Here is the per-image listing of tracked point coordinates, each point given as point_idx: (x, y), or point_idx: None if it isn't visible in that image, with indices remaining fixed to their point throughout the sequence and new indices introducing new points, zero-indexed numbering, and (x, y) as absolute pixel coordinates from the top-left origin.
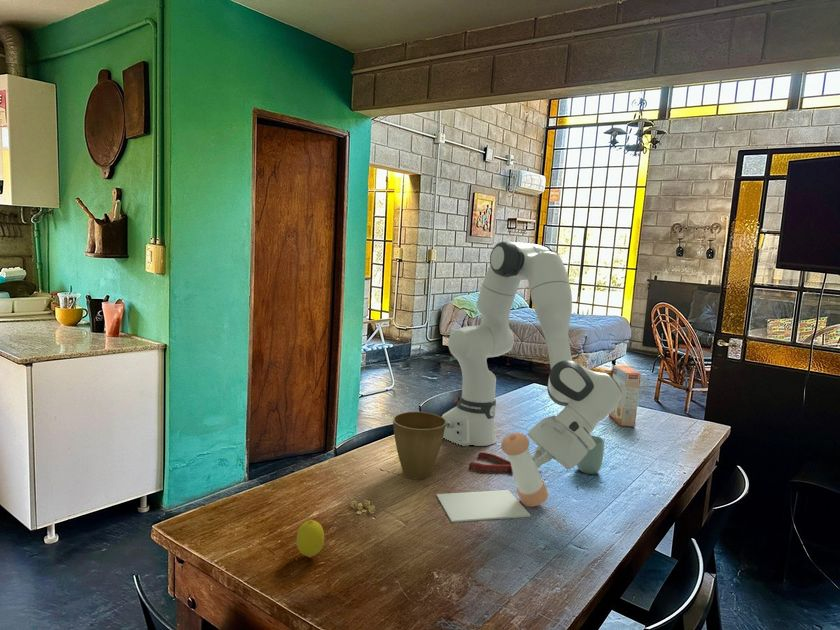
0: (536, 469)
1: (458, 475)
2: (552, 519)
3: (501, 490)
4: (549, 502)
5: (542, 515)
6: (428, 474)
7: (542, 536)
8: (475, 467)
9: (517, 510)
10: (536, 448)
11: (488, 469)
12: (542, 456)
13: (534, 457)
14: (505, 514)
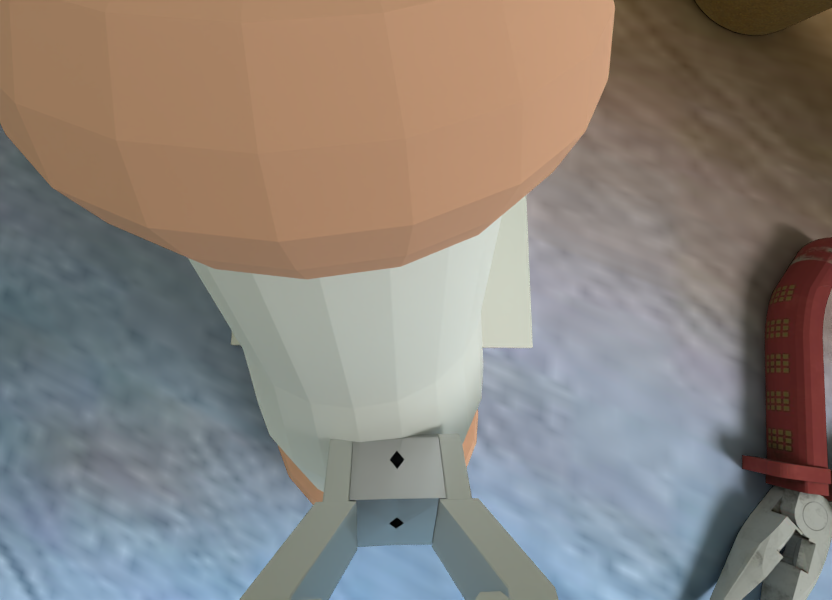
0: (284, 434)
1: (727, 162)
2: (178, 456)
3: (529, 306)
4: None
5: (233, 419)
6: (713, 6)
7: (26, 317)
8: (802, 262)
9: None
10: (548, 589)
11: (779, 327)
12: (285, 563)
13: (416, 481)
14: None
